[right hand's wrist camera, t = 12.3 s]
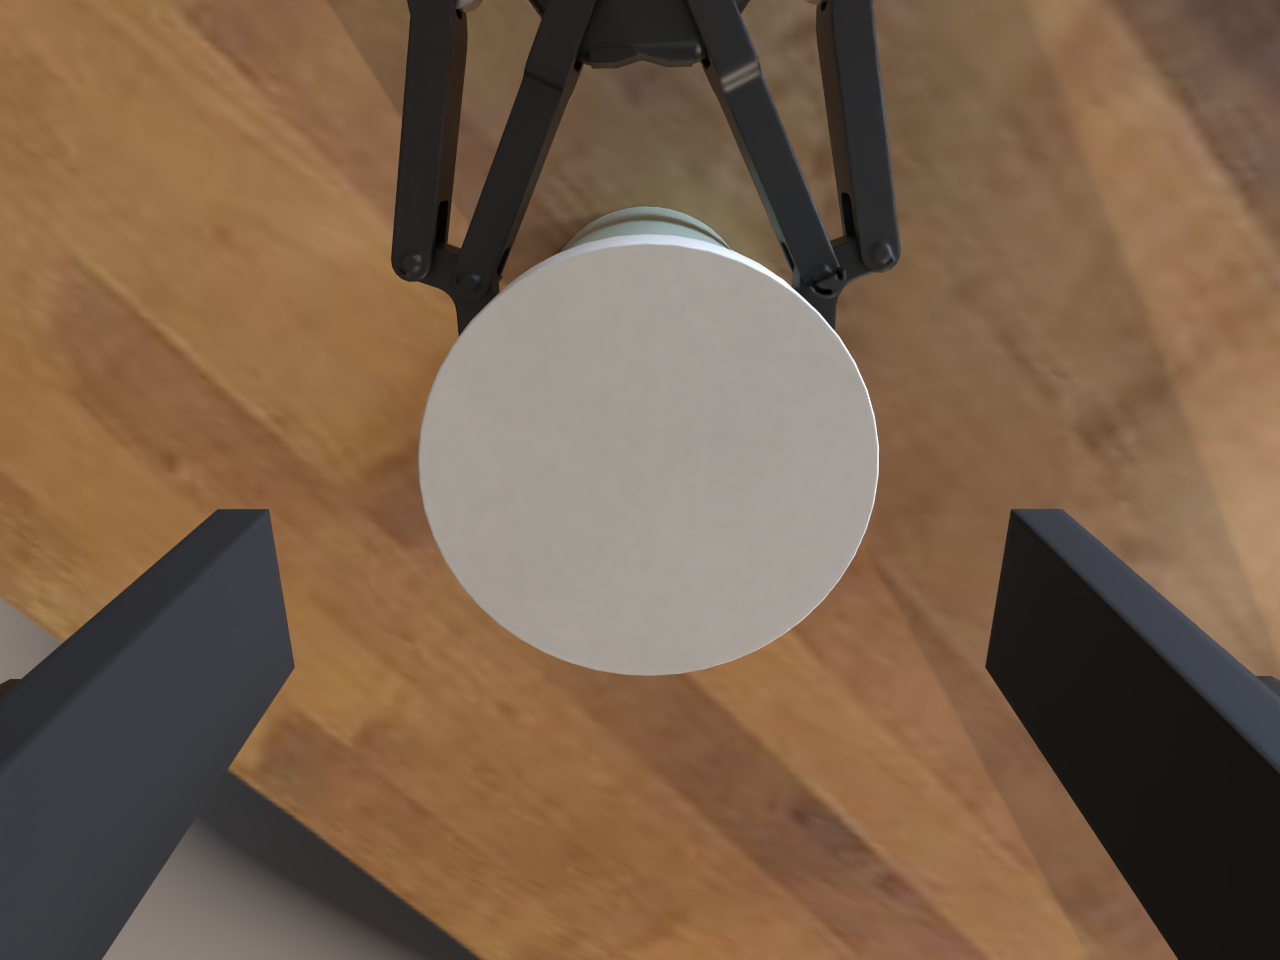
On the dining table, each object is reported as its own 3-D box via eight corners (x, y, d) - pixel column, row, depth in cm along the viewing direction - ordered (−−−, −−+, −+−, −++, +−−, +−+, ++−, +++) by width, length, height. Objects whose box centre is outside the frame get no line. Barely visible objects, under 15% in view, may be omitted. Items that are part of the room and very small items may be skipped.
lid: (517, 675, 22) (506, 717, 20) (371, 307, 19) (344, 322, 17) (894, 581, 21) (916, 618, 19) (810, 175, 18) (826, 178, 16)
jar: (578, 438, 37) (522, 684, 20) (513, 241, 35) (384, 335, 17) (772, 385, 37) (884, 594, 19) (721, 178, 34) (801, 211, 17)
